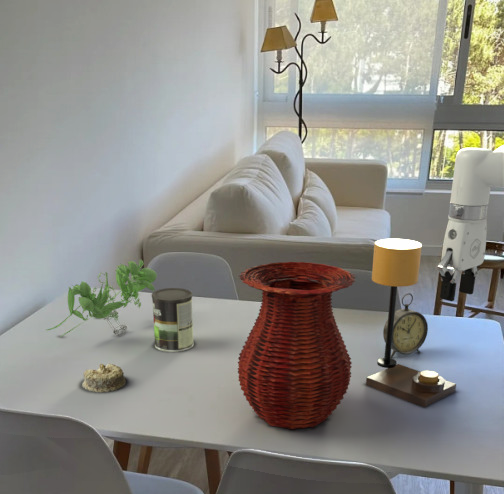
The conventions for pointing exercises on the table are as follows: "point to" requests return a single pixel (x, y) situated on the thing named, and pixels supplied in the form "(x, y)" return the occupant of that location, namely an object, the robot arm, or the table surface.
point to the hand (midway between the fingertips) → (456, 295)
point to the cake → (104, 379)
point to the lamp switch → (428, 377)
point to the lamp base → (410, 385)
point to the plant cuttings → (96, 304)
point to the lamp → (395, 278)
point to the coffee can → (173, 319)
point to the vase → (295, 345)
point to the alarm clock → (407, 330)
